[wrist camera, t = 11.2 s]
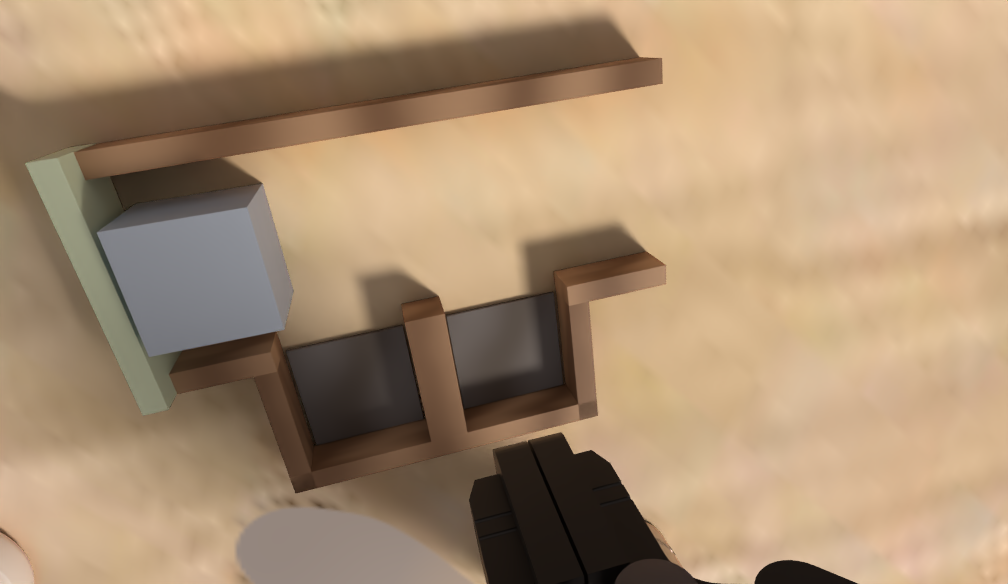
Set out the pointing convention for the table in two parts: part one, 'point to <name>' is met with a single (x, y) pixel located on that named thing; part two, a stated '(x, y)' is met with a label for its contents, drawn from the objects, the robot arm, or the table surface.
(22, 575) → the vodka
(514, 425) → the trap lane
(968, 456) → the table surface
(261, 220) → the block
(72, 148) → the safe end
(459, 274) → the table surface
